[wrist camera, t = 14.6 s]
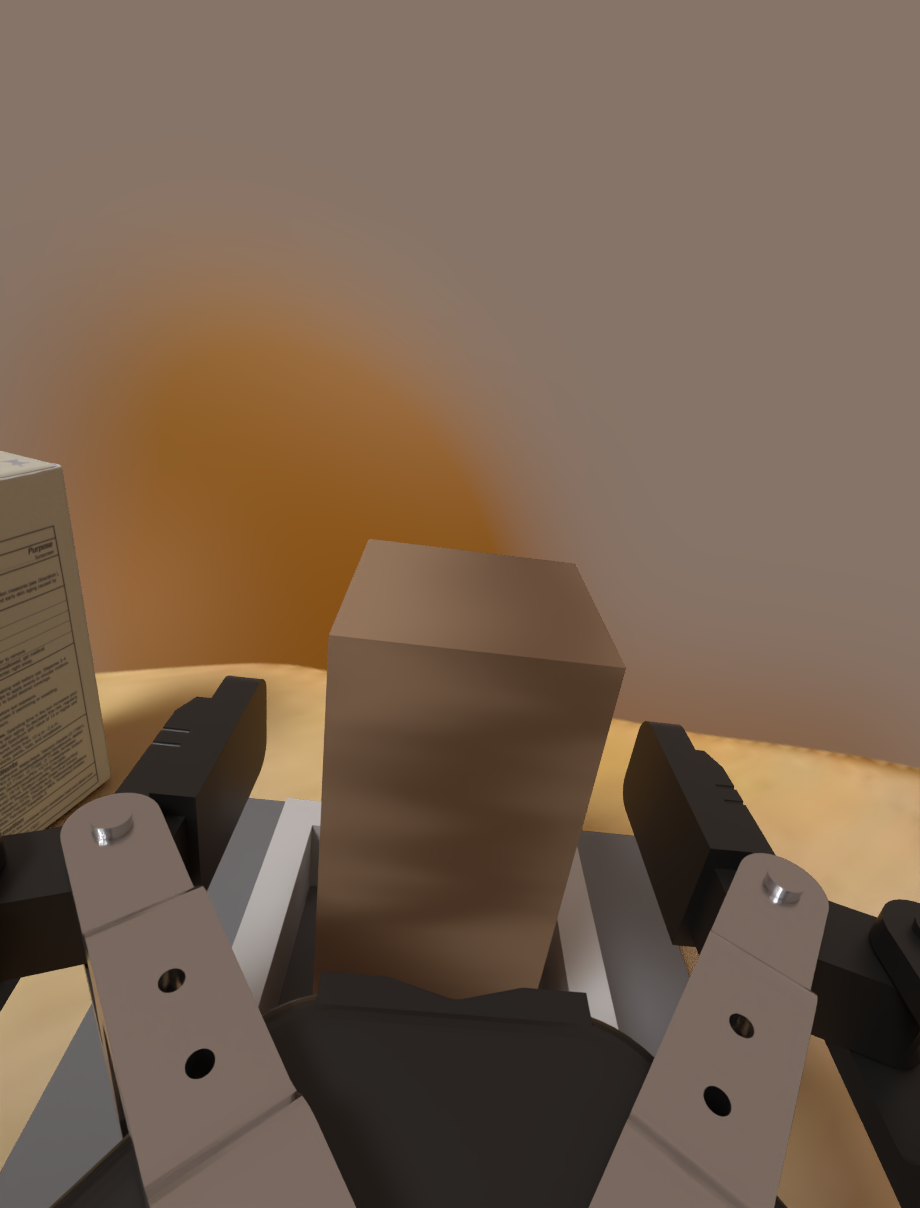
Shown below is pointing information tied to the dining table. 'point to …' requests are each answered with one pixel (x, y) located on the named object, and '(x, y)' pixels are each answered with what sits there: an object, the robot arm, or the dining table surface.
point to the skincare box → (43, 655)
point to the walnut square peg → (457, 765)
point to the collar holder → (286, 969)
